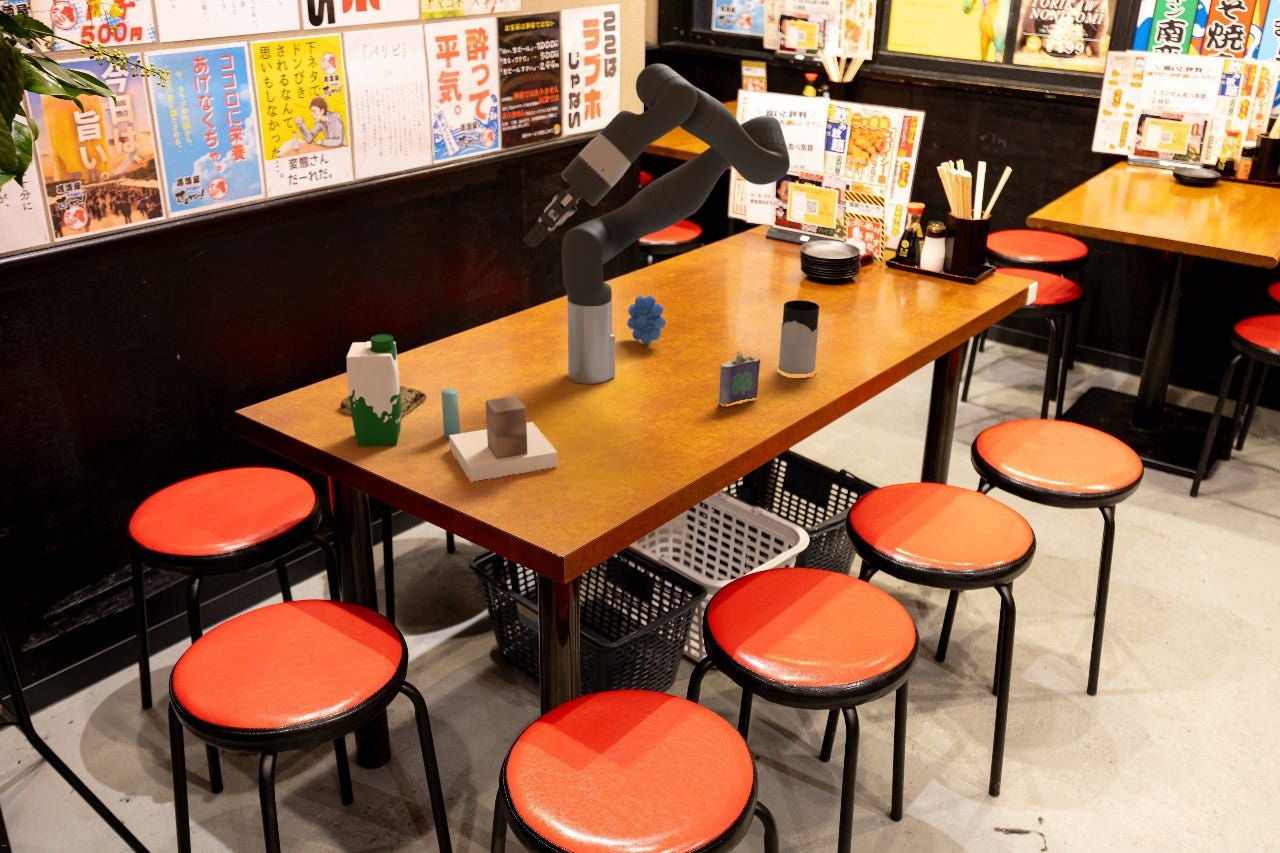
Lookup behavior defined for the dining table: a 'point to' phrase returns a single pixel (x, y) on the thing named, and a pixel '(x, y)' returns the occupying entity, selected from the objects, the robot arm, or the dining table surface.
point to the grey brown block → (506, 427)
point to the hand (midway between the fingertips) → (528, 243)
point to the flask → (739, 379)
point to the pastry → (408, 401)
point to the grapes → (646, 319)
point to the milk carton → (374, 391)
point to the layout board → (484, 464)
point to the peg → (450, 412)
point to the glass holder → (799, 337)
